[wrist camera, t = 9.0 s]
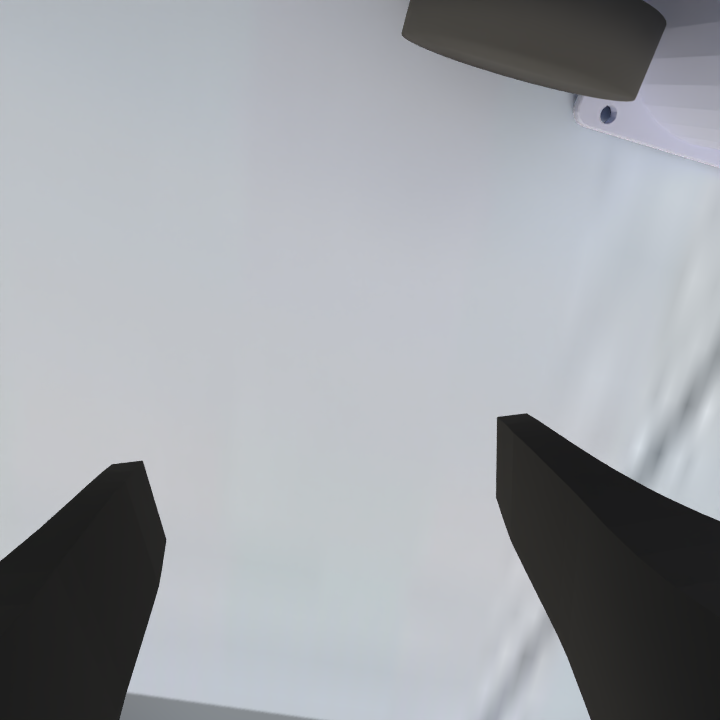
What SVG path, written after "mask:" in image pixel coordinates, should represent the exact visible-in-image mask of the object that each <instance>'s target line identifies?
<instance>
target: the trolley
mask: <svg viewBox="0 0 720 720" xmlns="http://www.w3.org/2000/svg"><path fill="white" fill-rule="evenodd" d="M666 25H667V24H666V20H665V18H664V16H663V15H662V14H661V13H660V12H659V11H658V10H657V9H655V8H654V7H652V6H651V5H650V4H648V3H646V2H645V1H643V0H410V3H409V7H408V11H407V15H406V19H405V22H404V26H403V30H402V36H403V37H404V38H406V39H407V40H409V41H410V42H412V43H414V44H416V45H418V46H420V47H423V48H425V49H427V50H430V51H432V52H435V53H437V54H440V55H443V56H445V57H448V58H451V59H454V60H456V61H459V62H462V63H465V64H468V65H471V66H474V67H477V68H480V69H484V70H487V71H490V72H493V73H497V74H500V75H503V76H507V77H510V78H514V79H517V80H521V81H525V82H528V83H532V84H536V85H540V86H544V87H548V88H552V89H556V90H560V91H564V92H569V93H573V94H578V95H583V96H588V97H593V98H599V99H605V100H612V101H624V102H628V101H634V100H635V99H636V97H637V94H638V92H639V89H640V87H641V85H642V82H643V80H644V78H645V75H646V73H647V70H648V68H649V66H650V63H651V61H652V58H653V56H654V54H655V51H656V49H657V46H658V44H659V42H660V39H661V37H662V34H663V32H664V30H665V27H666Z"/></svg>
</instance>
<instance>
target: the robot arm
mask: <svg viewBox="0 0 720 720" xmlns="http://www.w3.org/2000/svg"><path fill="white" fill-rule="evenodd" d="M643 1H645V2H646V3H648V4H650V5H651V6H652V7H654V8H655V9H657V10H658V11H659V12H660V13H661V14H662V15H663V16H664V18H665V20H666V24H667V25H666V27H665V30H664V32H663V34H662V37H661V39H660V42H659V44H658V46H657V49H656V51H655V54H654V56H653V58H652V61H651V63H650V66H649V68H648V70H647V73H646V75H645V78H644V80H643V82H642V85H641V87H640V89H639V92H638V94H637V97H636V99H635V100H634V101H628V102H624V101H612V100H605V99H599V98H593V97H588V96H583V95H578V97H577V99H576V102H575V104H574V109H573V115H574V119H575V121H576V122H577V124H579V125H581V126H583V127H586V128H589V129H592V130H596V131H599V132H602V133H606V134H609V135H612V136H615V137H619V138H622V139H625V140H629V141H632V142H635V143H638V144H642V145H645V146H648V147H652V148H655V149H658V150H661V151H665V152H668V153H671V154H675V155H678V156H681V157H684V158H688V159H691V160H694V161H697V162H701V163H704V164H707V165H711V166H714V167H717V168H720V0H643ZM606 106H609V107H610V109H611V116H610V118H609V119H608V121H606V122H604V123H603V122H602V121H601V119H600V114H601V111H602V110H603V108H604V107H606ZM496 498H497V501H498V504H499V507H500V511H501V514H502V517H503V520H504V523H505V525H506V528H507V531H508V534H509V537H510V540H511V542H512V544H513V546H514V548H515V550H516V552H517V554H518V556H519V558H520V560H521V562H522V564H523V567H524V569H525V571H526V573H527V575H528V577H529V579H530V581H531V583H532V585H533V587H534V589H535V591H536V593H537V595H538V597H539V599H540V601H541V603H542V605H543V607H544V609H545V611H546V613H547V615H548V617H549V619H550V621H551V623H552V625H553V627H554V629H555V631H556V633H557V635H558V637H559V639H560V642H561V644H562V646H563V648H564V651H565V653H566V655H567V657H568V660H569V663H570V665H571V668H572V670H573V673H574V676H575V678H576V681H577V684H578V686H579V689H580V692H581V694H582V697H583V700H584V702H585V705H586V708H587V710H588V713H589V716H590V719H591V720H720V521H718V520H716V519H713V518H711V517H709V516H706V515H704V514H701V513H699V512H697V511H695V510H693V509H690V508H688V507H686V506H684V505H682V504H680V503H677V502H675V501H673V500H671V499H669V498H667V497H664V496H662V495H660V494H658V493H657V492H655V491H653V490H651V489H649V488H647V487H645V486H643V485H641V484H640V483H638V482H636V481H634V480H632V479H630V478H629V477H627V476H625V475H623V474H621V473H620V472H618V471H616V470H615V469H613V468H611V467H609V466H608V465H606V464H604V463H603V462H601V461H600V460H598V459H596V458H595V457H593V456H592V455H590V454H588V453H587V452H585V451H584V450H582V449H580V448H579V447H577V446H576V445H574V444H573V443H571V442H570V441H568V440H567V439H565V438H564V437H562V436H561V435H559V434H558V433H556V432H555V431H553V430H552V429H550V428H549V427H547V426H546V425H544V424H543V423H541V422H540V421H538V420H536V419H535V418H533V417H532V416H530V415H528V414H527V413H526V414H518V415H510V416H502V417H497V469H496ZM165 545H166V537H165V534H164V530H163V527H162V524H161V520H160V517H159V514H158V510H157V507H156V504H155V500H154V497H153V494H152V490H151V487H150V484H149V480H148V477H147V474H146V470H145V467H144V464H143V461H136V462H128V463H119V464H112V465H111V466H109V467H108V468H107V469H106V470H104V471H103V472H102V473H101V474H100V475H98V476H97V477H96V478H95V479H94V480H93V481H92V482H91V483H89V484H88V485H87V486H86V487H85V488H84V489H83V490H82V491H81V492H80V493H78V494H77V495H76V496H75V497H74V498H73V499H72V500H71V501H70V502H69V503H67V504H66V505H65V506H64V507H63V508H62V509H61V510H60V511H59V512H57V513H56V514H55V515H54V516H53V517H52V518H51V519H50V520H48V521H47V522H46V523H45V524H44V525H43V526H42V527H41V528H40V529H38V530H37V531H36V532H35V533H34V534H32V535H31V536H30V537H29V538H28V539H26V540H25V541H24V542H23V543H22V544H20V545H19V546H18V547H17V548H16V549H14V550H13V551H12V552H11V553H10V554H8V555H7V556H6V557H5V558H4V559H2V560H1V561H0V720H119V719H120V715H121V711H122V707H123V703H124V700H125V695H126V692H127V689H128V686H129V683H130V679H131V676H132V673H133V670H134V666H135V663H136V660H137V657H138V654H139V650H140V647H141V644H142V641H143V637H144V634H145V631H146V628H147V624H148V621H149V618H150V614H151V611H152V608H153V604H154V601H155V598H156V594H157V591H158V587H159V582H160V577H161V571H162V565H163V559H164V552H165Z"/></svg>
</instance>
